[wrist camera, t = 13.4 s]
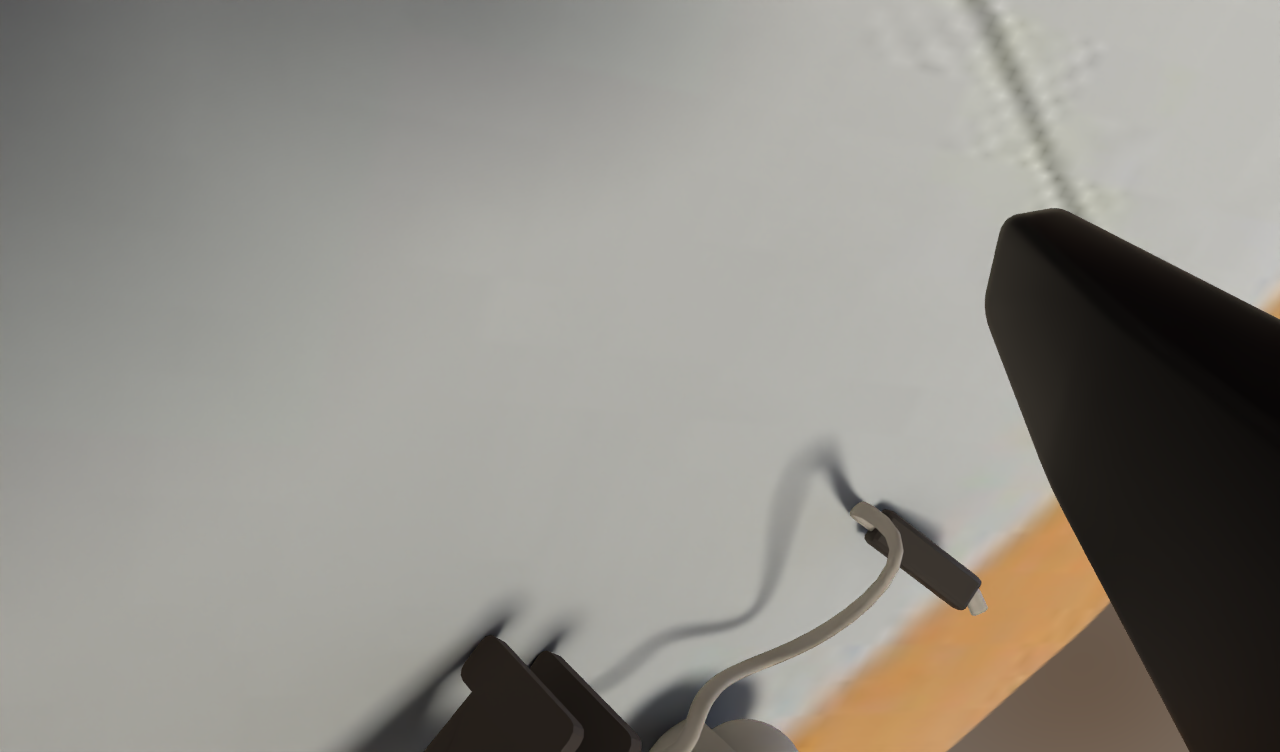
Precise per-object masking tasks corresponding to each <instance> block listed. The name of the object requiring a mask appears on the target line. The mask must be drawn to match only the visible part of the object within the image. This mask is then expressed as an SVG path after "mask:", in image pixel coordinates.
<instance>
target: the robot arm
mask: <svg viewBox="0 0 1280 752" xmlns="http://www.w3.org/2000/svg"><path fill="white" fill-rule="evenodd" d="M985 313H986V318H987V323H988V326H989V329H990V331H991V334H992V337H993V339H994V342H995V344H996V347H997V350H998V352H999V355H1000V358H1001V360H1002V363H1003V365H1004V368H1005V371H1006V373H1007V376H1008V378H1009V381H1010V384H1011V386H1012V389H1013V391H1014V394H1015V397H1016V399H1017V402H1018V405H1019V407H1020V410H1021V412H1022V415H1023V418H1024V420H1025V423H1026V425H1027V428H1028V431H1029V433H1030V436H1031V439H1032V441H1033V444H1034V446H1035V449H1036V452H1037V454H1038V457H1039V459H1040V462H1041V464H1042V467H1043V469H1044V471H1045V474H1046V476H1047V479H1048V481H1049V483H1050V486H1051V488H1052V490H1053V492H1054V494H1055V496H1056V498H1057V500H1058V502H1059V504H1060V506H1061V508H1062V510H1063V512H1064V514H1065V516H1066V518H1067V520H1068V522H1069V523H1070V525H1071V527H1072V529H1073V531H1074V533H1075V535H1076V537H1077V539H1078V541H1079V542H1080V544H1081V546H1082V548H1083V550H1084V552H1085V554H1086V556H1087V558H1088V560H1089V561H1090V563H1091V565H1092V567H1093V569H1094V571H1095V573H1096V575H1097V577H1098V579H1099V580H1100V582H1101V584H1102V586H1103V588H1104V590H1105V592H1106V594H1107V596H1108V598H1109V599H1110V601H1111V603H1112V605H1113V607H1114V609H1115V611H1116V612H1117V614H1118V617H1119V618H1120V620H1121V622H1122V624H1123V626H1124V628H1125V630H1126V632H1127V634H1128V636H1129V637H1130V639H1131V641H1132V643H1133V645H1134V647H1135V649H1136V651H1137V652H1138V654H1139V656H1140V658H1141V660H1142V662H1143V664H1144V666H1145V668H1146V670H1147V672H1148V674H1149V675H1150V677H1151V679H1152V681H1153V683H1154V685H1155V687H1156V689H1157V691H1158V692H1159V694H1160V696H1161V698H1162V700H1163V702H1164V704H1165V706H1166V708H1167V710H1168V712H1169V713H1170V715H1171V717H1172V719H1173V721H1174V723H1175V725H1176V727H1177V729H1178V731H1179V732H1180V734H1181V736H1182V738H1183V740H1184V742H1185V744H1186V746H1187V748H1188V750H1189V751H1190V752H1280V319H1278V318H1276V317H1274V316H1272V315H1270V314H1268V313H1266V312H1264V311H1262V310H1260V309H1258V308H1256V307H1254V306H1252V305H1250V304H1248V303H1246V302H1244V301H1242V300H1240V299H1239V298H1237V297H1235V296H1233V295H1231V294H1229V293H1227V292H1225V291H1223V290H1221V289H1219V288H1217V287H1215V286H1213V285H1211V284H1209V283H1207V282H1205V281H1203V280H1201V279H1199V278H1197V277H1195V276H1194V275H1192V274H1190V273H1188V272H1186V271H1184V270H1182V269H1180V268H1178V267H1176V266H1174V265H1172V264H1170V263H1168V262H1166V261H1164V260H1162V259H1160V258H1158V257H1156V256H1154V255H1152V254H1150V253H1148V252H1147V251H1145V250H1143V249H1141V248H1139V247H1137V246H1135V245H1133V244H1131V243H1129V242H1127V241H1125V240H1123V239H1121V238H1119V237H1117V236H1115V235H1113V234H1111V233H1109V232H1107V231H1105V230H1103V229H1102V228H1100V227H1098V226H1096V225H1094V224H1092V223H1090V222H1088V221H1086V220H1084V219H1082V218H1080V217H1078V216H1076V215H1074V214H1072V213H1070V212H1068V211H1066V210H1063V209H1059V208H1050V209H1044V210H1039V211H1033V212H1027V213H1022V214H1016V215H1014V216H1012V217H1010V218H1008V219H1007V220H1006V221H1005V223H1004V224H1003V226H1002V227H1001V230H1000V233H999V237H998V242H997V246H996V250H995V255H994V259H993V263H992V268H991V272H990V276H989V281H988V285H987V290H986V295H985Z"/></svg>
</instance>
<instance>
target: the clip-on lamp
mask: <svg viewBox="0 0 1280 752" xmlns="http://www.w3.org/2000/svg"><path fill="white" fill-rule="evenodd" d="M850 516H851V517H852V518H853V519H855V520H856V521H857V522H858V523H859V524H861V525H862V526H864V527H865V528H866V529H868V532H867V533H866V535H865V540H866V541H867V543H868V544H870V545H871V546H872V547H874V548H875V549H876V550H877V551H879V552H880V553H881V554H883V555H884V556H885V557H887V558H888V559H887V563H886V566H885V567H884V569H883V570H882V572H881V574H880V575H879V577H878V578H877V580H876V581H875V582H874V583H873V584H872V585H871V586H870V587H869V588H868V589H867V590H866V591H865V592H864V593H863V594H862V595H861V596H860V597H859V598H858V599H856V600H855V601H854V602H853V603H852V604H850V605H849V606H848V607H847V608H845V609H844V610H843V611H841V612H840V613H838V614H837V615H835V616H834V617H833V618H831V619H830V620H828V621H827V622H825V623H823V624H822V625H820V626H818V627H817V628H815V629H813V630H812V631H810V632H808V633H806V634H804V635H802V636H800V637H798V638H796V639H794V640H792V641H790V642H788V643H786V644H783V645H781V646H779V647H777V648H774V649H772V650H769V651H767V652H764V653H762V654H759V655H757V656H754V657H752V658H749V659H747V660H744V661H742V662H740V663H738V664H736V665H733V666H731V667H729V668H727V669H725V670H724V671H722V672H720V673H719V674H717V675H715V676H714V677H713V678H712V679H710V680H709V681H708V682H707V683H706V684H705V685H704V686H703V687H702V688H701V689H700V690H699V692H698V693H697V695H696V696H695V698H694V700H693V702H692V704H691V707H690V710H689V713H688V716H687V719H685V720H683V721H681V722H679V723H678V724H676V725H675V726H673V727H672V728H670V729H669V730H668V731H667V732H666V733H665V734H664V735H662V736H661V737H660V738H659V739H658V741H657V742H656V743H655V744H654V746H653V747H652V748H651V749H650V751H649V752H798V750H797V749H796V747H795V746H794V744H793V743H792V742H791V740H790V739H789V738H788V737H787V736H786V735H785V734H783V733H782V732H781V731H780V730H778V729H776V728H775V727H773V726H772V725H769V724H767V723H764V722H761V721H757V720H752V719H738V720H732V721H728V722H725V723H723V724H720V725H718V726H716V727H715V728H713V729H711V728H709V727H708V726H707V725H706V724H705V721H706V718H707V715H708V712H709V710H710V708H711V706H712V705H713V703H714V701H715V700H716V698H717V697H718V696H719V695H720V694H721V692H722V691H724V690H725V689H726V688H727V687H729V686H730V685H731V684H733V683H735V682H737V681H738V680H740V679H742V678H744V677H747V676H749V675H751V674H753V673H756V672H758V671H761V670H763V669H766V668H769V667H771V666H774V665H776V664H779V663H781V662H784V661H786V660H788V659H791V658H793V657H795V656H797V655H800V654H802V653H804V652H806V651H808V650H810V649H812V648H814V647H816V646H817V645H819V644H821V643H822V642H824V641H826V640H827V639H829V638H831V637H833V636H834V635H836V634H837V633H839V632H840V631H841V630H843V629H844V628H846V627H847V626H849V625H850V624H851V623H853V622H854V621H855V620H856V619H858V618H859V617H860V616H861V615H862V614H863V613H865V612H866V611H867V610H868V609H869V608H870V607H872V606H873V604H874V603H875V602H876V601H877V600H878V599H879V598H880V596H881V595H882V594H883V593H884V592H885V591H886V590H887V589H888V587H889V586H890V584H891V582H892V581H893V579H894V577H895V575H896V574H897V572H898V570H899V568H901V569H903V570H904V571H905V572H906V573H908V574H909V575H910V576H912V577H913V578H914V579H916V580H917V581H918V582H920V583H921V584H922V585H924V586H925V587H926V588H928V589H929V590H930V591H932V592H933V593H934V594H935V595H937V596H938V597H939V598H941V599H942V600H943V601H945V602H946V603H947V604H949V605H950V606H951V607H953V608H955V609H958V610H964V609H965V608H966V607H967V606H968V608H969V610H970V613H971V615H974V616H976V615H979V614H981V613H983V612H985V611H986V610H987V609H988V607H987V605H986V603H985V600H984V598H983V596H982V594H981V592H980V590H979V587H980V586H981V580H980V579H979V578H978V577H977V576H976V575H975V574H973V573H972V572H971V571H970V570H968V569H967V568H966V567H964V566H963V565H962V564H961V563H959V562H958V561H957V560H955V559H954V558H953V557H952V556H950V555H949V554H948V553H946V552H945V551H944V550H942V549H941V548H940V547H939V546H937V545H936V544H935V543H933V542H932V541H931V540H930V539H928V538H927V537H926V536H924V535H923V534H922V533H921V532H919V531H918V530H917V529H915V528H914V527H913V526H912V525H910V524H909V523H908V522H906V521H905V520H904V519H902V518H901V517H900V516H899V515H897V514H896V513H895V512H893V511H890V510H883V511H882V512H881V511H880V510H878V509H877V508H876V507H874V506H872V505H870V504H868V503H866V502H864V501H863V502H860V503H858V504H857V505H856V506H855V507H854V508H853V509H852V510H851V511H850ZM461 677H462V680H463V681H464V683H465V684H466V685H467V686H468V687H469V689H470V690H471V691H472V693H471V694H470V695H469V696H468V697H467V699H466V700H465V701H464V702H463V704H462V705H461V706H460V707H459V709H458V710H457V711H456V712H455V714H454V715H453V716H452V717H451V719H450V720H449V721H448V722H447V724H446V725H445V726H444V727H443V729H442V730H441V731H440V732H439V734H438V735H437V736H436V737H435V738H434V740H433V741H432V742H431V743H430V745H429V746H428V747H427V748H426V750H425V751H424V752H641V749H642V741H641V739H640V737H639V736H638V735H637V734H636V733H635V732H634V731H633V729H632V728H631V727H630V726H629V725H628V724H627V723H626V722H625V721H624V720H623V719H622V718H621V717H620V716H619V715H618V714H617V713H616V712H615V711H614V710H613V709H612V708H611V707H610V706H609V705H608V704H607V703H606V702H605V701H604V700H603V699H602V698H601V697H600V696H599V695H598V694H597V693H596V692H595V691H594V690H593V689H592V688H591V687H590V686H589V685H588V684H587V683H586V682H585V681H584V680H583V679H582V678H581V677H580V675H579V674H578V673H577V672H576V671H575V670H574V669H573V668H572V667H571V666H570V665H569V664H568V663H567V662H566V661H565V660H564V659H563V658H562V657H561V656H559V655H557V654H554V653H551V652H549V651H544V652H541V653H540V654H539V656H538V657H537V658H536V660H535V661H534V663H533V664H532V666H531V668H530V669H529V668H528V667H527V665H526V664H525V663H524V662H523V661H522V660H521V659H520V658H519V657H518V656H517V655H516V654H515V652H514V651H513V650H512V649H511V648H510V647H509V646H508V645H507V644H506V643H505V642H503V641H502V640H500V639H498V638H496V637H494V636H492V635H489V636H486V637H485V638H484V639H483V640H482V641H481V642H480V643H479V644H478V646H477V647H476V648H475V650H474V651H473V652H472V654H471V655H470V656H469V658H468V659H467V660H466V662H465V663H464V665H463V667H462V670H461Z"/></svg>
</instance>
